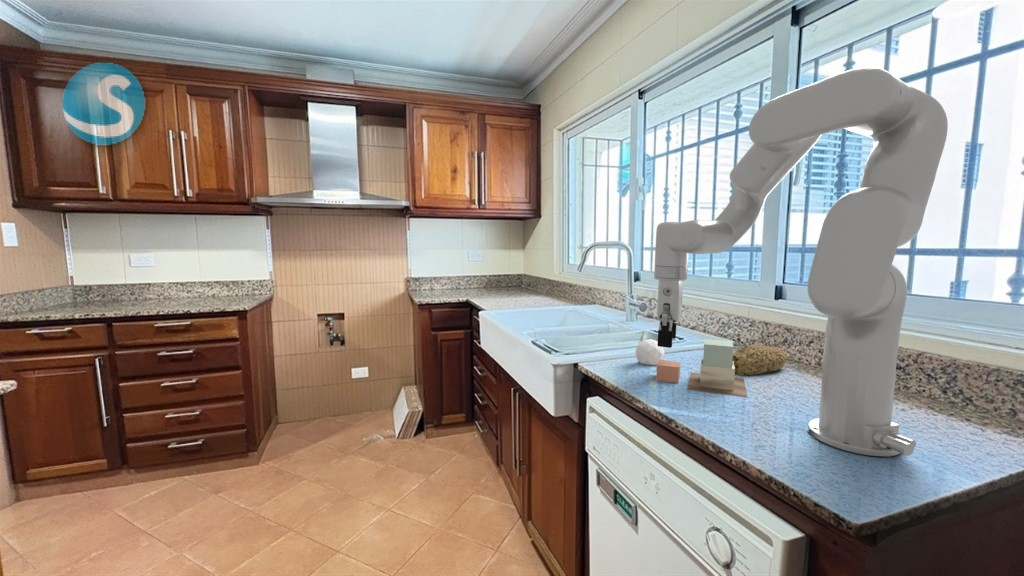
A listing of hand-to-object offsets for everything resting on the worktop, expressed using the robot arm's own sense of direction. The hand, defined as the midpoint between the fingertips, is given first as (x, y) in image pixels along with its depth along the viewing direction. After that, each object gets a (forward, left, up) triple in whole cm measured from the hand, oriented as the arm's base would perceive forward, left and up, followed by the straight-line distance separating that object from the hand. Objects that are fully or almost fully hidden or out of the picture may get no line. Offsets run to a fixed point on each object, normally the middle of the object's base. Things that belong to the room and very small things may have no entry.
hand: (666, 342), depth 101 cm
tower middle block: (-7, -9, -4) cm, 12 cm away
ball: (+13, -3, -10) cm, 17 cm away
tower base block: (-7, -9, -9) cm, 15 cm away
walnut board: (-7, -9, -10) cm, 15 cm away
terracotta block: (-1, 0, -10) cm, 10 cm away
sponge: (+3, -29, -11) cm, 31 cm away
